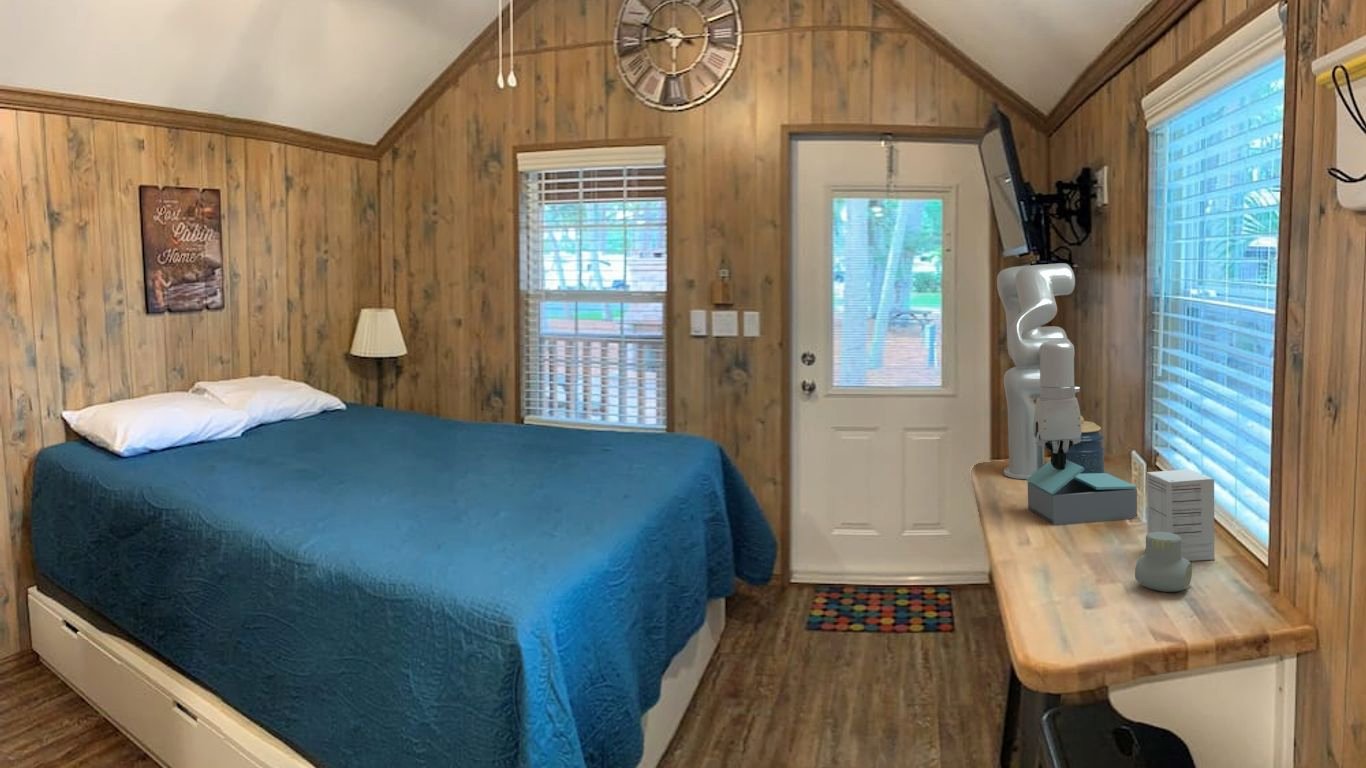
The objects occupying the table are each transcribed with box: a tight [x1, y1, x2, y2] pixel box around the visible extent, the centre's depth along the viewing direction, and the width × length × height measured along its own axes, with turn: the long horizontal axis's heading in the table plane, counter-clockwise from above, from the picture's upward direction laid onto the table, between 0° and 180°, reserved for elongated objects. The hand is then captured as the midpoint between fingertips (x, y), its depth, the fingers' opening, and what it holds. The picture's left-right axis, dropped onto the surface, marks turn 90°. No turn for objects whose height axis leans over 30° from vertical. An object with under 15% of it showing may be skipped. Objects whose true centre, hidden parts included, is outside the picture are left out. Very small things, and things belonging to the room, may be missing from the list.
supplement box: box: [1146, 469, 1216, 562], centre depth 180 cm, size 10×9×17 cm
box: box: [1027, 478, 1138, 526], centre depth 212 cm, size 14×20×7 cm
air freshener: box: [1134, 532, 1193, 593], centre depth 164 cm, size 11×8×10 cm
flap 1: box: [1025, 459, 1084, 495], centre depth 211 cm, size 14×10×1 cm
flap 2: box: [1074, 472, 1138, 490], centre depth 212 cm, size 14×10×1 cm
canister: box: [1057, 415, 1106, 474], centre depth 245 cm, size 13×13×18 cm
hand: (1058, 467), depth 211 cm, fingers closed
